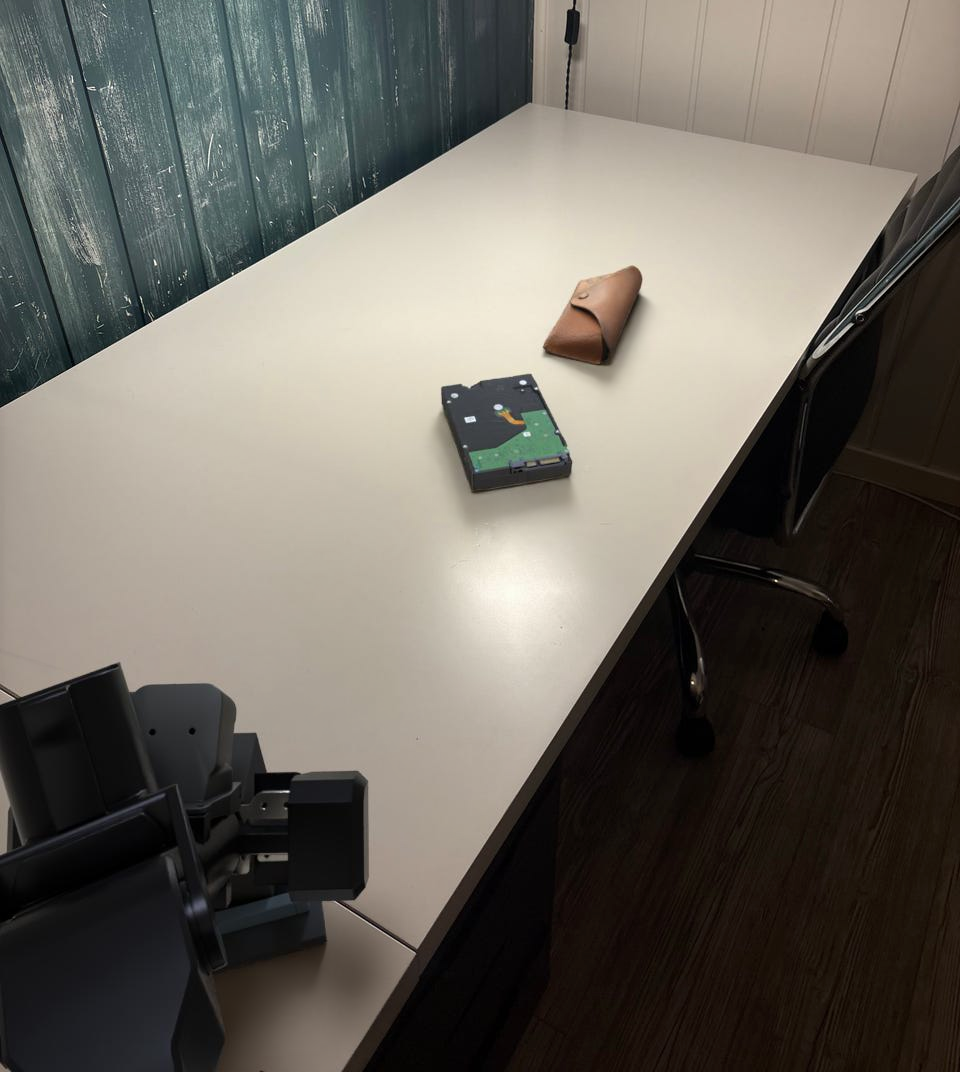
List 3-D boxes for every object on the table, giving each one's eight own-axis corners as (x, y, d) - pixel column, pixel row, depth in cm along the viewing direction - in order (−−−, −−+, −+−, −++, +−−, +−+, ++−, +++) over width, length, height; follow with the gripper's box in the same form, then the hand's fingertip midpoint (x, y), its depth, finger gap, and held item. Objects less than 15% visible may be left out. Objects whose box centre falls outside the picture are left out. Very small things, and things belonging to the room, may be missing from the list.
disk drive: (439, 407, 103) (472, 495, 92) (438, 386, 101) (471, 473, 90) (530, 392, 105) (574, 476, 93) (531, 371, 103) (575, 454, 92)
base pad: (327, 942, 59) (323, 924, 58) (180, 983, 58) (171, 966, 56) (306, 787, 68) (301, 768, 66) (176, 819, 66) (169, 799, 64)
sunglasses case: (577, 277, 123) (606, 240, 119) (620, 308, 124) (651, 273, 120) (539, 350, 110) (570, 313, 106) (588, 385, 111) (620, 349, 106)
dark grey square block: (274, 904, 60) (243, 802, 53) (203, 905, 60) (162, 803, 53) (284, 836, 64) (256, 731, 56) (218, 838, 64) (180, 733, 56)
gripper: (347, 704, 44) (380, 660, 60) (-52, 713, 44) (85, 667, 60) (348, 954, 43) (382, 843, 59) (-61, 964, 43) (80, 850, 59)
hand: (232, 795), depth 59 cm, fingers closed on dark grey square block, 4 cm apart
